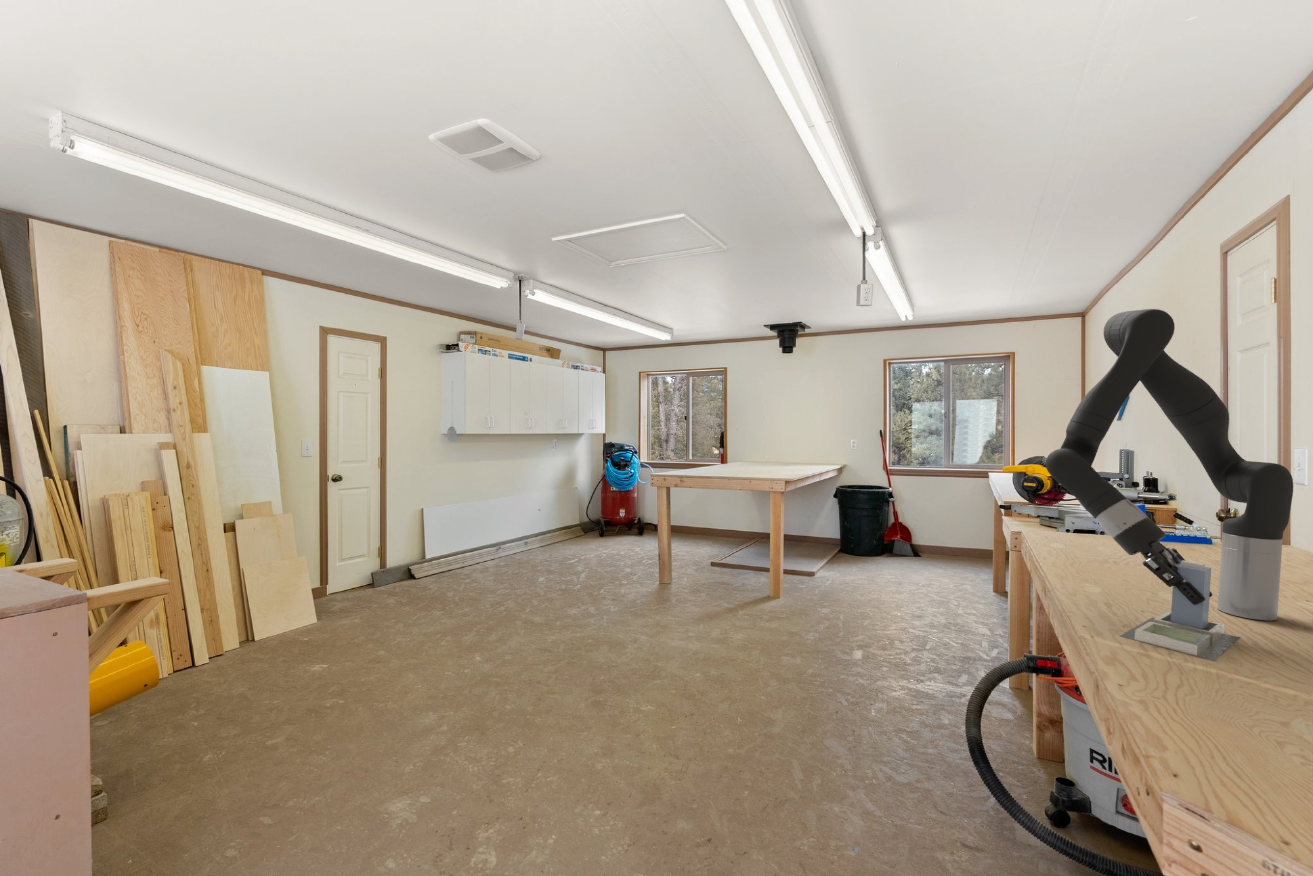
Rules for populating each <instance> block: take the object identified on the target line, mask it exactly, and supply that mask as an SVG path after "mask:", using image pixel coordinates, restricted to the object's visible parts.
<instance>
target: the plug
mask: <svg viewBox="0 0 1313 876" xmlns="http://www.w3.org/2000/svg"><path fill="white" fill-rule="evenodd" d="M1185 560H1186V559H1185ZM1185 560H1182V561H1181V563H1179V564H1178V567H1179V568H1180V573H1181V574H1182V575H1183V576H1184V577H1185V578H1186V579H1187V580H1188V582H1187V583H1189V582H1190V583H1191V584H1192V585H1193V586H1194V587H1195V588H1196V589H1197V590H1198V591H1199V592H1200V593H1201V594H1202V595H1203V596H1204V597H1205V601H1203V602H1201V603H1199V604H1197V605H1194V604H1192V603H1191V602H1190V601H1189V600H1188V599H1187V598H1186V597H1185V596H1184V595H1183V594H1182V593H1181V592H1180V591H1179V590H1178V588H1176V589H1175V588H1174V587H1172V591H1171V592H1172V593H1171V594H1172V595H1171V608H1170V609H1171V611H1170V613H1171V622H1174V623H1178V624H1183V625H1187V626H1191V627H1196V628H1200V629H1202V628H1204V627H1205V626H1206V625H1208V621H1209V612H1210V611H1209V610H1210V598H1211V597H1209V596H1210V592H1211V577H1212V567H1211V566H1210V567H1209V566H1206V564H1205V563H1204V562H1203V563H1202V562H1196V561H1189V560H1186V561H1185Z"/></svg>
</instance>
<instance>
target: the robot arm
mask: <svg viewBox="0 0 1313 876" xmlns="http://www.w3.org/2000/svg"><path fill="white" fill-rule="evenodd" d="M1175 327H1176V326H1175V322H1174V319H1173V317H1172V316H1171V315H1170V313H1168V312H1166V311H1164V310H1163V309H1158V308H1146V309H1138V310H1137V309H1136V310H1128V311H1122V312H1118V313H1116V314H1114V315H1112V316H1111V317H1109V318H1108V320H1107V321H1106V322H1105V324H1104V327H1103V338H1104V341H1105V344H1106V345H1107V347H1108V348H1109V350H1111V352H1112V353H1113V354H1114V355H1116V357H1117V358H1116V361H1115V362H1114V364H1113V365H1112V366H1111V368H1110V369H1109V370H1108V371H1107V373H1106V374H1104V375H1103V377H1102V378H1101V379H1100V380H1099V381H1098V382H1097V383H1096V384H1095V385H1093V387H1091V389H1090V390H1089V391H1088V392H1087V393H1086V394H1085V396H1084V397H1083V398H1082V399H1081V401H1080V403H1078V406H1077V407H1076V409H1075V411H1074V412H1073V414H1072V417H1071V418H1070V421H1069V422H1068V424H1067V427H1066V430H1065V437H1064V438H1065V439H1064V441H1063V442H1062V444H1061V446H1060V448H1058V449H1055V450H1053V451H1051V452H1050V453H1049V454H1048V455H1047V457H1046V460H1045V467H1046V471H1047V473H1048V474H1049V475H1050V476H1051V477H1052V479H1054V481H1056V482H1057V483H1058V484H1059V485H1061V487H1063V488H1064V489H1066V491H1067V492H1069V494H1071V495H1072V496H1073V497H1074V498H1076V499H1077V501H1078V502H1079V504H1081V506H1082V507H1083V508H1084V509H1085V510H1086V511H1087V512H1088V513H1089V514H1090V515H1091V516H1092V517H1093V519H1095V520H1096V522H1097V523H1098V524H1099V525H1100V527H1101V528H1102V529H1103V530H1104V531H1105V532H1106V533H1107V534H1108V535H1109V536H1110V537H1111V538H1112V539H1113V540H1114V542H1116V543H1117V544H1118V545H1119V546H1120V547H1121V548H1122V549H1123V550H1124V552H1126V553H1127V554H1128V555H1129V556H1135V555H1137V554H1139V553H1140V554H1141V555H1142V556H1143V558H1144V559H1145V560H1144V561H1142V562H1141V563H1142V565H1143V566H1144V567H1146V568H1147V569H1148V570H1149V571H1150V572H1151V573H1153V575H1154V576H1156V577H1157V578H1158V579H1159V580H1161V582H1163V583H1164V584H1165V585H1166V586H1167V587H1168V588H1171V587H1172V588H1173V587H1174V588H1175V589H1176V588H1178V590H1179V591H1180V592H1181V593H1182V594H1183V595H1184V596H1185V597H1186V598H1187V599H1188V600H1189V601H1190V602H1191V603H1192V604H1194V605H1197V604H1199V603H1201V602H1203V601H1205V597H1204V596H1203V595H1202V594H1201V593H1200V592H1199V591H1198V590H1197V589H1196V588H1195V587H1194V586H1193V585H1192V584H1191V583H1190V582H1189V583H1187V582H1188V580H1187V579H1186V578H1185V577H1184V576H1183V575H1182V574H1181V573H1180V568H1179V567H1178V564H1179V563H1181V561H1182V560H1185V561H1187V560H1186V559H1185V558H1184V557H1183V556H1182V555H1181V554H1180V552H1179V551H1178V550H1177V549H1175V548H1174V547H1173V548H1170V547H1166V546H1165V545H1164V544H1162V543H1161V542H1160V541H1162V540H1163V539H1164V538H1165V537H1166V532H1165V531H1164V530H1163V529H1161V528H1160V526H1158V524H1156V523H1155V522H1154V521H1153V520H1152V519H1151V518H1150V517H1148V515H1146V513H1145V512H1143V511H1142V509H1140V508H1139V507H1138V506H1137V505H1136V504H1135V503H1133V502H1132V501H1130V499H1127V497H1125V495H1124V494H1123V493H1122V492H1121V491H1120V490H1118V488H1116V487H1115V486H1114V485H1113V484H1111V483H1110V481H1108V480H1106V479H1105V478H1104V477H1102V476H1101V475H1100V474H1099V473H1098V472H1097V471H1096V470H1095V468H1093V466H1092V465H1093V464H1094V461H1095V458H1096V456H1097V453H1098V451H1099V448H1100V445H1101V443H1102V441H1103V440H1104V438H1105V437H1106V435H1107V433H1108V432H1109V430H1110V428H1111V426H1112V425H1113V422H1114V421H1115V418H1116V417H1117V415H1118V413H1119V411H1120V410H1121V408H1122V407H1123V405H1124V404H1125V402H1126V401H1127V399H1128V397H1129V396H1130V394H1131V393H1132V392H1133V390H1134V389H1135V388H1136V387H1137V385H1138V384H1139V382H1140V383H1141V384H1142V385H1143V387H1144V388H1145V389H1146V391H1147V392H1148V393H1149V395H1150V396H1151V397H1152V398H1153V400H1154V401H1155V402H1156V403H1157V405H1158V406H1159V408H1160V410H1161V411H1162V412H1163V414H1164V415H1165V416H1166V418H1167V419H1168V420H1169V422H1170V423H1171V424H1172V425H1173V427H1174V428H1175V429H1176V430H1177V431H1178V432H1179V434H1180V435H1181V436H1182V438H1184V441H1185V442H1186V443H1187V445H1188V446H1189V448H1190V449H1191V450H1192V452H1193V454H1195V456H1196V457H1197V458H1198V460H1199V462H1200V464H1201V465H1202V467H1203V468H1204V470H1205V472H1206V474H1207V476H1208V477H1209V480H1210V481H1211V483H1212V485H1213V486H1214V488H1215V489H1216V490H1217V492H1218V493H1219V494H1220V495H1221V496H1222V497H1223V498H1225V499H1227V500H1229V501H1232V502H1236V503H1242V504H1246V506H1245V509H1244V513H1242V514H1240V515H1239V516H1236V517H1231V518H1226V519H1225V520H1223V523H1222V532H1221V534H1222V535H1221V548H1220V549H1221V550H1220V565H1219V567H1220V568H1219V581H1218V582H1219V583H1218V595H1217V610H1219V611H1221V612H1223V613H1226V614H1228V615H1232V616H1237V617H1241V618H1246V619H1252V620H1257V621H1258V620H1259V621H1277V620H1278V611H1279V602H1280V601H1279V597H1280V586H1281V585H1280V583H1281V572H1282V571H1281V569H1282V568H1281V567H1282V552H1283V538H1284V533H1285V531H1286V528H1287V527H1288V525H1289V521H1290V516H1291V509H1292V502H1293V496H1294V481H1293V480H1294V479H1293V476H1292V474H1291V472H1290V470H1289V469H1288V468H1287V467H1285V465H1282V464H1279V463H1275V462H1264V461H1262V462H1261V461H1250V460H1246V459H1245V458H1243V457H1241V455H1240V454H1239V453H1238V452H1237V450H1236V449H1235V447H1234V446H1233V445H1232V444H1231V442H1230V441H1229V437H1228V435H1229V433H1228V432H1229V426H1230V413H1229V410H1228V408H1227V406H1226V404H1225V403H1224V402H1223V400H1222V399H1221V397H1220V396H1219V395H1218V394H1217V393H1216V391H1215V390H1214V389H1213V387H1211V385H1210V384H1209V383H1207V382H1206V380H1204V379H1203V378H1201V377H1200V376H1198V375H1197V374H1195V373H1194V372H1192V371H1191V370H1189V368H1186V367H1185V366H1183V365H1182V364H1180V363H1179V362H1177V361H1175V359H1173V358H1172V357H1171V356H1170V355H1168V353H1167V352H1166V350H1165V349H1166V348H1167V346H1168V345H1169V343H1170V342H1171V340H1172V338H1173V336H1174V334H1175ZM1212 596H1213V593H1212V591H1210V596H1209V597H1210V598H1211V597H1212Z"/></svg>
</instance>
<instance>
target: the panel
mask: <svg viewBox="0 0 1313 876" xmlns="http://www.w3.org/2000/svg"><path fill="white" fill-rule="evenodd" d="M1225 627H1226V626H1225V624H1224V623H1219V622H1216V621H1215V622H1213V621H1209V620H1208V625H1206V626H1205V627H1204V628H1202V629H1200V628H1196V627H1191V626H1187V625H1183V624H1178V623H1174V622H1171V611H1165V612H1164V613H1162V614H1160V615H1158V616H1157V617H1154V616H1152V617H1151V618H1149V619H1147V620H1146V621H1144V622H1142V623H1141V624H1139V625H1136V626H1134V627H1133V628H1132V629H1130V630H1128V631H1126V632H1124V633H1123V634H1120V635H1119V637H1121V638H1125V639H1127V640H1132V641H1136V642H1140V643H1142V644H1143V643H1144V644H1147V645H1152V646H1155V647H1159V648H1163V649H1167V650H1171V651H1174V652H1179V653H1181V654H1186V655H1190V656H1192V657H1193V656H1194V657H1196V658H1197V657H1198V658H1202V659H1205V660H1210V661H1213V662H1214V661H1216V660H1217V659H1219V656H1221V655H1222V654H1224V652H1226V651H1227V650H1228V649H1229V648H1230V647H1232V646H1233V645H1234V644H1235V643H1236V642H1237V641H1238V640H1239V639H1241V636H1236V635H1232V634H1227V633H1225Z"/></svg>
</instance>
